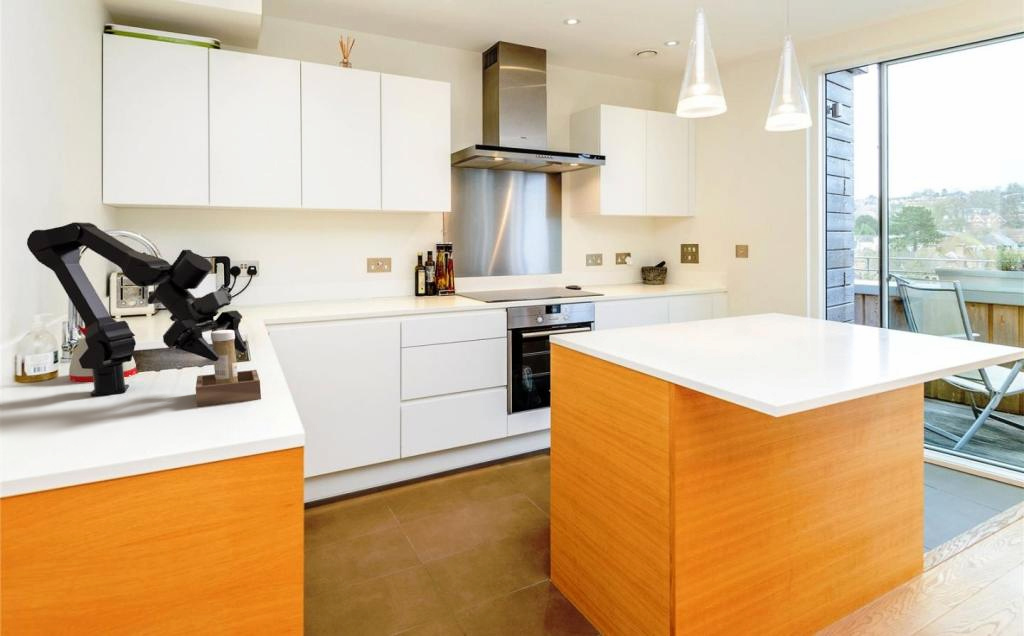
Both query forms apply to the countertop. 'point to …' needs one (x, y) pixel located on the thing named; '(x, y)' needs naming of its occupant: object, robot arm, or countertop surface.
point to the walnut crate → (227, 389)
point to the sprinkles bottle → (224, 356)
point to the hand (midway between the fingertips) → (231, 355)
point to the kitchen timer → (86, 374)
